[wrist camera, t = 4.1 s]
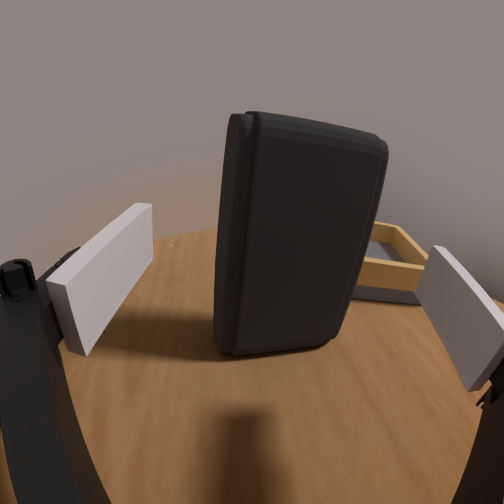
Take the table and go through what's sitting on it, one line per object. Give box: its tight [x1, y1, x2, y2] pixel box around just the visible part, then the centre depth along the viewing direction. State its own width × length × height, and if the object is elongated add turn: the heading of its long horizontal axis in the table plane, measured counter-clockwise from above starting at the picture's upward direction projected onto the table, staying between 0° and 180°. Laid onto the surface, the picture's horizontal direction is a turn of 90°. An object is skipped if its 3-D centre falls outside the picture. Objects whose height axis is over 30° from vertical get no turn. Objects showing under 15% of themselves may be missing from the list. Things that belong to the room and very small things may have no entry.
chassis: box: [352, 222, 428, 305], centre depth 33 cm, size 20×14×4 cm
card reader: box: [213, 111, 389, 356], centre depth 18 cm, size 9×4×15 cm, turn 106°
